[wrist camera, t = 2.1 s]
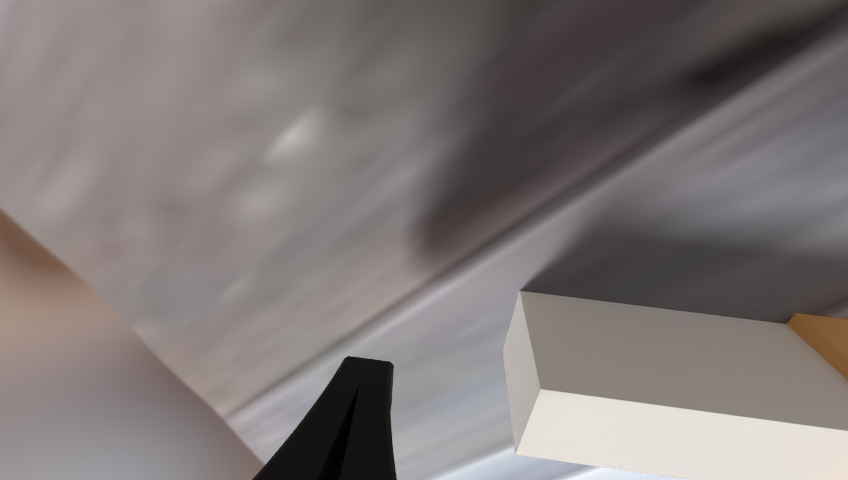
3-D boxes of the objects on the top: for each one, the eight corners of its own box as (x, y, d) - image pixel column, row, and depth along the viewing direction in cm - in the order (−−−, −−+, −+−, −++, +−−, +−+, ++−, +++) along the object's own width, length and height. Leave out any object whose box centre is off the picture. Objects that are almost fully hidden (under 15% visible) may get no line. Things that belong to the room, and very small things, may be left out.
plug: (866, 408, 14) (1025, 556, 10) (500, 359, 14) (513, 481, 10) (953, 332, 12) (1198, 482, 8) (522, 279, 12) (549, 393, 8)
